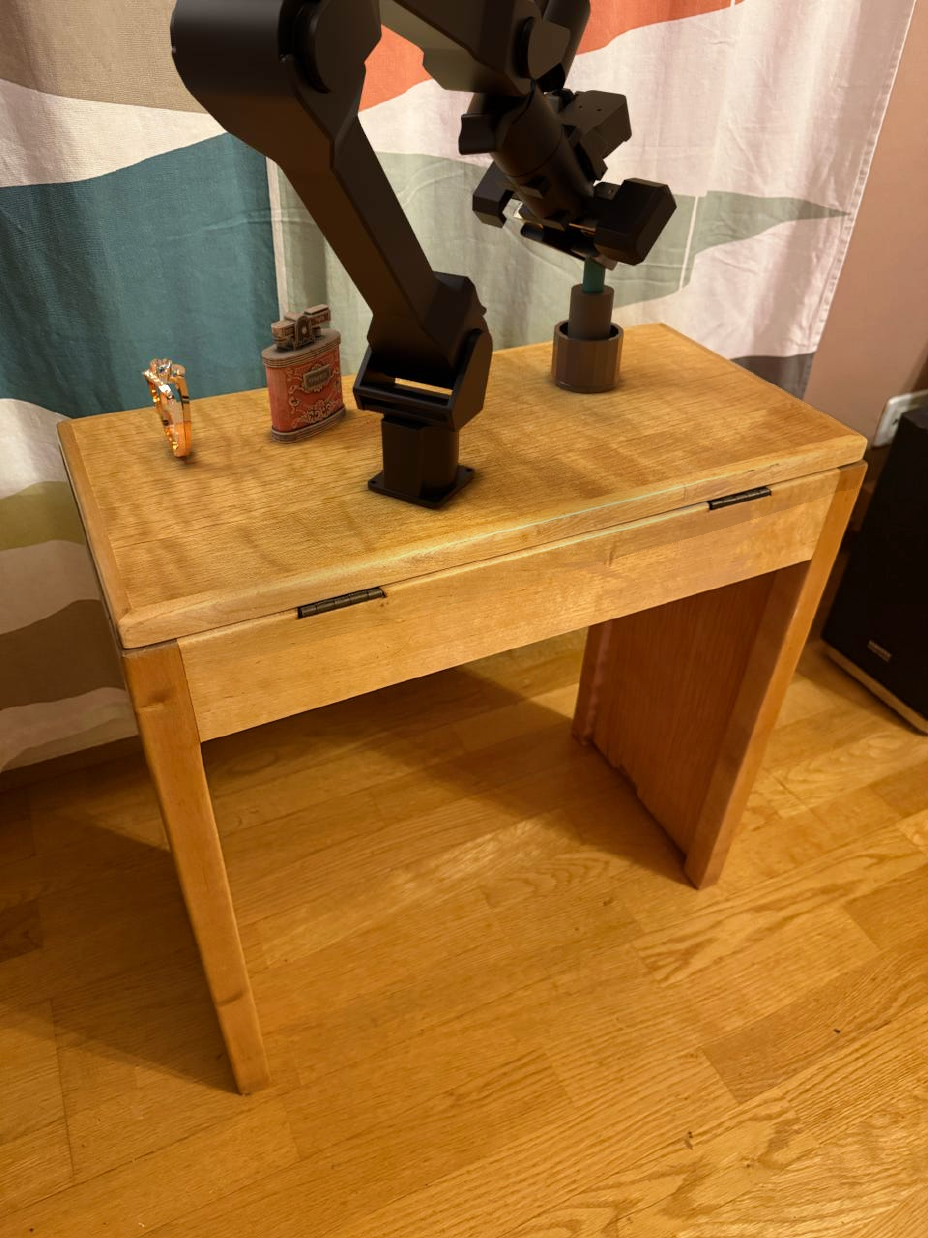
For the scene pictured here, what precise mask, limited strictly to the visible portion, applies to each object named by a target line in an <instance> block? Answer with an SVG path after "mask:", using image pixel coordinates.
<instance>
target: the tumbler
mask: <svg viewBox="0 0 928 1238" xmlns="http://www.w3.org/2000/svg"><path fill="white" fill-rule="evenodd" d="M568 322H569V318H568V319H565V320H561V321H559V322H558V323H556V324H554V326H553V337H552V339H553V340H552V350H551V367H550V381H551V382H552V383H553V385H555V386H556V387H559V388H560V389H562V390H565V391H569V392H574V393H579V394H596V393H602V392H606V391H610V390H612V389H613V388H615V387H617V385H618V384H619V383H618V382H619V377H620V370H621V361H622V353H623V344H624V336H625V332H624V331H625V330H624V328H623V327H622V326H620V325H619V324H618V323H615V322H612V321H611V327H610V336H609V339H606V340H596V341H593V340H580V339H575V338H571V337H569V336H568V335H567V334H568Z"/></svg>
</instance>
